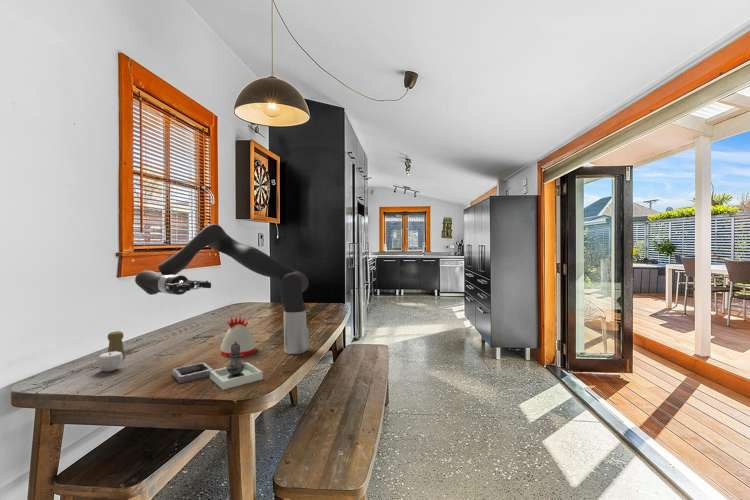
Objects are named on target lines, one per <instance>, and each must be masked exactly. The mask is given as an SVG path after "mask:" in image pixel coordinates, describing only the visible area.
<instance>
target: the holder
mask: <svg viewBox="0 0 750 500" xmlns="http://www.w3.org/2000/svg"><path fill="white" fill-rule="evenodd" d="M197 370H198V371H197ZM200 370H201V371H200ZM212 370H214V369H213V368H212V367H211V366H210V365H208V364H207V363H206V362H199V363H194V364H188V365H184V366H179V367H176V368H175V367H174V368H172V369H171V371H172V372H171V374H172V377H174V379H176V381H177V382H178V383H179V384H182V383H186V382H190V381H194V380H199V379H202V378H203V379H204V378H208V377H210V371H212ZM190 372H192V373H190ZM186 373H187V374H186ZM182 374H184V375H182Z"/></svg>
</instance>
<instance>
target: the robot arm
mask: <svg viewBox="0 0 750 500" xmlns="http://www.w3.org/2000/svg"><path fill="white" fill-rule="evenodd" d="M207 246H208V247H210V249H213V250H214V251H218V252H220V253H222V254H225V255H226V256H228V257H231V258H232V259H233V260H234V261H236V262H237V263H238V264H239V265H242V266H243V267H245V268H247V269H248V270H250V271H252V272H253V273H255V274H258V275H260V276H264V277H268V278H271V279H275V280H276V281H279V282H280V294H281V295H280V296H281V298H280V299H281V304H282V308H283V349H284V350H283V352H284V353H285V354H287V355H288V354H289V355H299V354H302V353H305V352H307V351H310V350H309V327H307V304H306V303H305V302H304V299H303V292H305V291H306V290H307V289H308V286H309V279H308V277H307V276H306V275H305V274H304V273H303V272H301V271H298V270H295V269H293V268H291V267H290V266H287V265H285V264H283V263H281V262H280V261H278V260H276V259H275V258H273V257H271V256H270V255H268V254H267V253H265V252H263V251H261V250H260V249H259V248H256V247H255V246H252V245H248V244H243V243H241V242H238V241H237V240H235V239H234V238H233V237H231V236H229V234H227V232H226V231H225V229H224V228H223V227H222V226H220V225H219V224H217V223H211V224H208V225H206V226H205V227H204V228H202V230H200V231H199V232H198V233H197V234H196V235H195V236H193V238H192V239H191V240H189V242H187V243H186V244H184V246H183V247H182V248H181V249H180V250H178V251H177V252H176V253H174V254H172V256H170V257H169V258H167V259H166V260H165V261H163V262H161V263H160V264H159V265H158V266H157V269H158V271H159V272H160V273H159V272H155V271H153V270H142V271H141V272H139V273H137V275H136V276H135V278H134V282H135V284H136V285H137V286H138V287H139V288H140V289H142V290H143V291H144V292H145V293H146V294H147V295H156V294H158V293H163V294H169V295H175V296H176V295H178V296H180V295H183V294H185V293H187V292H190V291H193V290H199V289H211V288H212V283H211V281H210V282H209V280H199V279H197V280H196V279H195V280H193V279H189V278H187V276H185V275H182V274H181V275H180V274H179V273H180V272H181V271H182V270H184V269H186V267H188V266H189V264H190V263H191V262H192V260H193V259H194V257H195V256H196V255H197V254H198V253H199V252H200V251H201V250H202V249H204V248H206V247H207Z"/></svg>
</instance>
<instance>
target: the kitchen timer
mask: <svg viewBox="0 0 750 500" xmlns="http://www.w3.org/2000/svg"><path fill="white" fill-rule="evenodd" d="M238 318H239V319H238ZM238 318H237V316H236V317H235V319H233V318H232V317H230V322H229V321H227V324H228V325H229V327H230V328H228V330H227V331H226V333H225V334H224V335H223V336H222V337H223V339H222V342H221V346H220V355H221V356H222V355H223V356H222V357H225V356H228V358H231V356H230V354H231V345H233V344H234V343H235V341H236V343H237V344H239V345H240V353H241V355H240V357H245V356H249V355H251V353H252V354H254V353H255V352H256V351H257V345H256V340H255V337H254V334H253V332H251V329H249V328H248V326H247V325H248V323H249V321H248V320H247V321H246V322H245V319H246V318H243V319H241V316H239V317H238ZM248 354H249V355H248Z"/></svg>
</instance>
